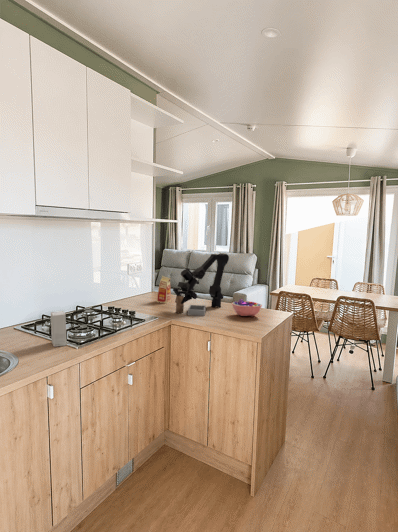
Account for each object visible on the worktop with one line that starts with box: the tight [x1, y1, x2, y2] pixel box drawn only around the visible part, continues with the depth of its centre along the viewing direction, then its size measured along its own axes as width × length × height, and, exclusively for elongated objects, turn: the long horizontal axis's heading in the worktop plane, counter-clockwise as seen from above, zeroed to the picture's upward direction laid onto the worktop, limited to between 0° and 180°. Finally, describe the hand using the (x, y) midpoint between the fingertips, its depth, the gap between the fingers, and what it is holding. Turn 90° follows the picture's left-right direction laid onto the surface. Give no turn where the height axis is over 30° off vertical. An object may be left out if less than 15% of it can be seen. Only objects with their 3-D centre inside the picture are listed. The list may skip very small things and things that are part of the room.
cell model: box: [231, 298, 263, 317], centre depth 225 cm, size 17×20×11 cm
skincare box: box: [50, 310, 68, 348], centre depth 159 cm, size 8×6×15 cm
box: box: [187, 304, 207, 317], centre depth 229 cm, size 11×15×4 cm
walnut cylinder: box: [175, 295, 185, 314], centre depth 228 cm, size 5×5×11 cm
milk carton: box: [156, 275, 172, 304], centre depth 260 cm, size 9×9×20 cm
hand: (178, 303), depth 226 cm, fingers closed on walnut cylinder, 5 cm apart
